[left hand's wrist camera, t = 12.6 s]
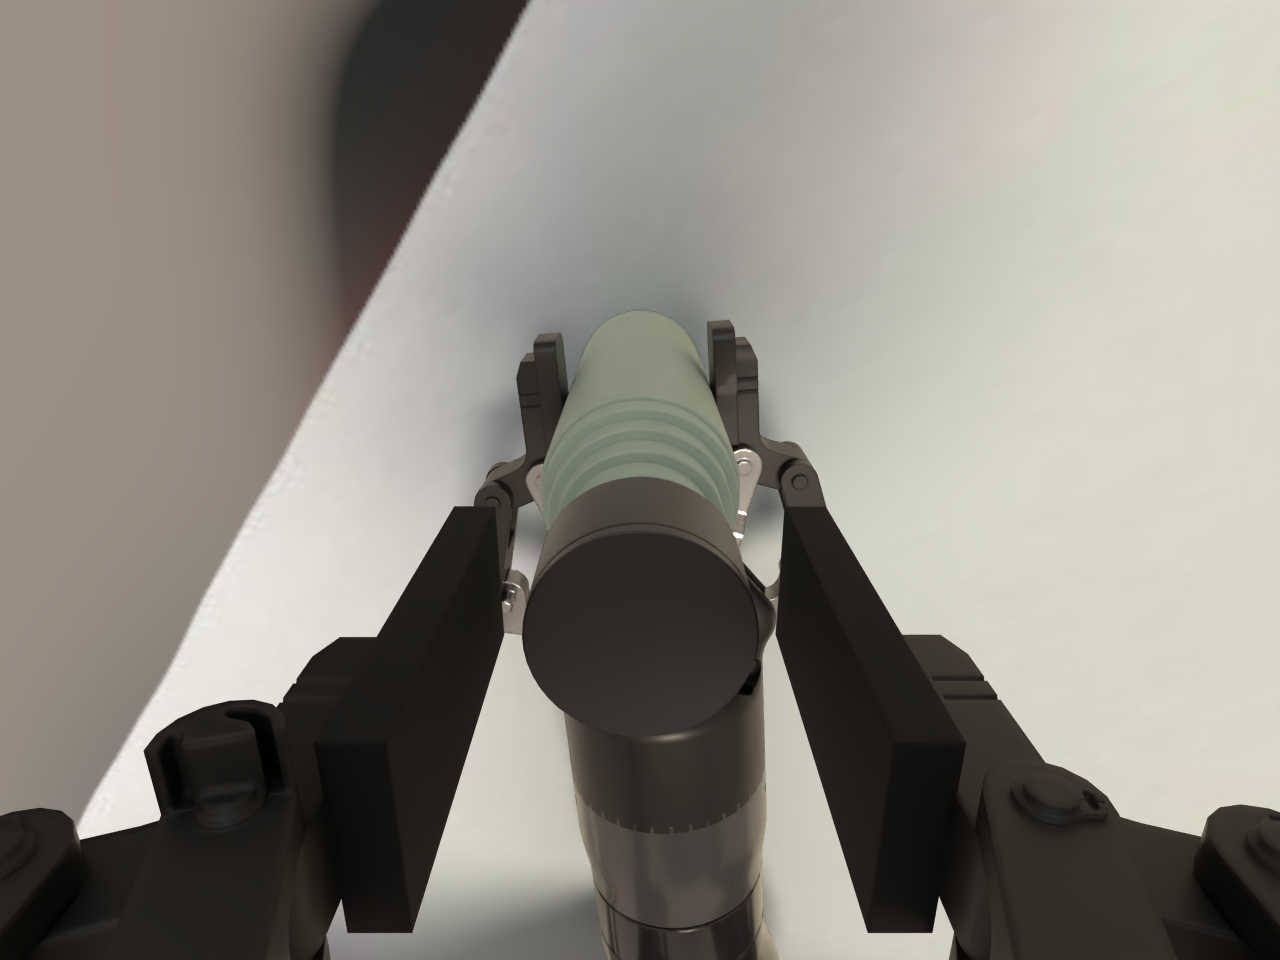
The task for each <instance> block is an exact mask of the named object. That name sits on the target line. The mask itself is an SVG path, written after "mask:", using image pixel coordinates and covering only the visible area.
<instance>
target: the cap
mask: <svg viewBox="0 0 1280 960" xmlns="http://www.w3.org/2000/svg"><path fill="white" fill-rule="evenodd" d="M522 640H523V649H524V653H525V657H526V661H527V664H528V666H529V669H530V671H531V673H532V675H533V677H534V679H535V680H536V682H537V684H538V685H539V687H540V688H541V690H542V691H543V692H544V693H545V695H546V696H547V697H548V698H549V699H550V700H551V701H552V702H553V703H554V704H555V705H556V706H557V707H558V708H560V709H561V710H562V711H564V712H565V713H566V714H568V715H569V716H571V717H572V718H574V719H576V720H578V721H579V722H581V723H583V724H585V725H588V726H590V727H593V728H595V729H598V730H601V731H605V732H608V733H613V734H618V735H624V736H656V735H663V734H669V733H672V732H676V731H680V730H683V729H686V728H688V727H691V726H694V725H696V724H698V723H700V722H702V721H704V720H705V719H707V718H709V717H710V716H712V715H713V714H715V713H716V712H718V711H719V710H720V709H721V708H723V707H724V706H725V705H726V704H727V703H728V702H729V701H730V700H731V699H732V698H733V697H734V696H735V695H736V694H737V692H738V691H739V690H740V688H741V687H742V685H743V684H744V682H745V681H746V679H747V677H748V675H749V673H750V671H751V669H752V667H753V664H754V661H755V658H756V654H757V649H758V643H759V624H758V617H757V612H756V608H755V605H754V601H753V598H752V594H751V590H750V587H749V583H748V580H747V576H746V573H745V569H744V565H743V562H742V558H741V555H740V551H739V548H738V544H737V541H736V538H735V535H734V533H733V531H732V529H731V527H730V525H729V524H728V522H727V521H726V519H725V518H724V516H723V515H722V514H721V513H720V512H719V510H718V509H717V508H716V507H715V506H714V505H713V504H712V503H711V502H709V501H708V500H707V499H706V498H705V497H703V496H702V495H700V494H699V493H697V492H695V491H694V490H692V489H690V488H688V487H686V486H684V485H681V484H678V483H675V482H672V481H669V480H664V479H660V478H652V477H628V478H622V479H616V480H612V481H609V482H606V483H602V484H600V485H598V486H596V487H593V488H591V489H589V490H587V491H586V492H584V493H583V494H581V495H579V496H578V497H577V498H575V499H574V500H573V501H572V502H570V503H569V504H568V505H567V506H566V507H565V508H564V509H563V510H562V511H561V513H560V514H559V515H558V516H557V518H556V519H555V521H554V522H553V524H552V525H551V527H550V529H549V531H548V533H547V535H546V538H545V541H544V544H543V547H542V551H541V554H540V558H539V562H538V565H537V569H536V572H535V576H534V580H533V583H532V587H531V590H530V594H529V598H528V602H527V605H526V608H525V613H524V618H523V625H522Z"/></svg>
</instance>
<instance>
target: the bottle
mask: <svg viewBox="0 0 1280 960" xmlns="http://www.w3.org/2000/svg"><path fill="white" fill-rule="evenodd" d="M628 477H652V478H660V479H664V480H669V481H672V482H675V483H678V484H681V485H684V486H686V487H688V488H690V489H692V490H694V491H695V492H697V493H699V494H700V495H702V496H703V497H705V498H706V499H707V500H708V501H709V502H711V503H712V504H713V505H714V506H715V507H716V508H717V509H718V510H719V512H720V513H721V514H722V515H723V516H724V518H725V519H726V521H727V522H728V524H729V525H730V527H731V529H732V531H734V529H735V525H736V522H737V519H738V512H739V499H740V475H739V468H738V465H737V461H736V458H735V455H734V452H733V449H732V447H731V444H730V441H729V438H728V436H727V433H726V430H725V427H724V425H723V422H722V419H721V416H720V414H719V411H718V408H717V405H716V403H715V400H714V397H713V394H712V392H711V389H710V386H709V383H708V380H707V378H706V375H705V372H704V369H703V367H702V364H701V361H700V358H699V356H698V353H697V350H696V348H695V345H694V343H693V341H692V340H691V338H690V336H689V335H688V334H687V332H686V331H685V330H684V329H683V328H682V327H681V326H680V325H679V324H678V323H676V322H675V321H673V320H672V319H670V318H668V317H667V316H665V315H662V314H659V313H656V312H651V311H642V310H640V311H630V312H625V313H622V314H619V315H617V316H614V317H612V318H610V319H609V320H607V321H606V322H604V323H603V324H602V325H601V326H600V327H599V328H598V329H597V330H596V331H595V332H594V333H593V335H592V336H591V338H590V339H589V341H588V343H587V345H586V347H585V350H584V353H583V355H582V358H581V361H580V364H579V367H578V369H577V372H576V375H575V378H574V380H573V383H572V386H571V389H570V392H569V394H568V397H567V400H566V403H565V405H564V408H563V411H562V414H561V416H560V419H559V422H558V425H557V428H556V430H555V433H554V436H553V439H552V441H551V444H550V447H549V450H548V452H547V455H546V458H545V461H544V464H543V469H542V474H541V488H540V490H541V503H542V514H543V518H544V522H545V526H546V529H547V531H549V529H550V527H551V525H552V524H553V522H554V521H555V519H556V518H557V516H558V515H559V514H560V513H561V511H562V510H563V509H564V508H565V507H566V506H567V505H568V504H569V503H570V502H572V501H573V500H574V499H575V498H577V497H578V496H579V495H581V494H583V493H584V492H586V491H587V490H589V489H591V488H593V487H596V486H598V485H600V484H602V483H606V482H609V481H612V480H616V479H622V478H628Z"/></svg>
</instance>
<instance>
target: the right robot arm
mask: <svg viewBox="0 0 1280 960" xmlns="http://www.w3.org/2000/svg"><path fill="white" fill-rule="evenodd" d="M707 336H708V357H709V378H710V389H711V392H712V394H713V397H714V400H715V403H716V405H717V408H718V411H719V414H720V416H721V419H722V422H723V425H724V427H725V430H726V433H727V436H728V438H729V441H730V444H731V447H732V449H733V452H734V455H735V458H736V461H737V465H738V468H739V475H740V499H739V512H738V519H737V522H736V525H735V529H734V531H733V533H734V535H735V538H736V541H737V544H738V548H739V546H740V543H741V541H742V538H743V534H744V529H745V519H746V514H747V511H748V509H749V506H750V503H751V500H752V497H753V494H754V491H755V488H756V485H757V484H759V485H763V486H767V487H770V488H774V489H778V492H779V496H780V499H781V502H782V506H783V509H785V506H826V504H825V501H824V497H823V493H822V490H821V486H820V482H819V479H818V475H817V473H816V471H815V470H814V468H813V466H812V465H811V463H810V462H809V460H808V458H807V457H806V455H805V454H804V452H803V451H802V449H801V448H800V447H799V445H797V444H796V443H793V442H788V441H787V442H782V443H780V442H776V441H772V440H769V439H766V438H764V437H763V436H761V435H760V434H759V401H758V362H757V358H756V356H755V354H754V351H753V349H752V347H751V345H750V343H749V342H748V340H747V339H746V338H745V337H736V338H735V331H734V326H733V325H732V323H731V322H730V321H729V320H719V321H708V322H707ZM516 379H517V387H518V394H519V401H520V407H521V416H522V423H523V430H524V437H525V444H526V454H525V455H524V456H522V457H520V458H518V459H516V460H514V461H511V462H509V463H508V462H500V463H497V464H495V465H494V466H492V468H491V469H490V470H489V472H488V474H487V476H486V481H485V483H484V484H483V485H482V486H481V487H480V489H479V491H478V492H477V494H476V496H475V500H474V506H495V509H496V523H497V537H498V552H499V566H500V580H501V594H502V608H503V623H504V633H511V634H518V635H522V625H523V618H524V613H525V608H526V605H527V602H528V598H529V594H530V591H529V582H528V579H527V578H526V577H525V575H523V574H522V573H521V572H520V571H518V570H511V565H512V557H513V549H514V540H515V532H516V524H517V516H518V508H519V507H521V506H523V505H526V504H528V503H530V502H533V501H535V502H536V504H537V506H538V508H539V510H540V512H541V514H542V503H541V490H540V488H541V474H542V469H543V464H544V461H545V458H546V455H547V452H548V450H549V447H550V444H551V441H552V439H553V436H554V433H555V430H556V428H557V425H558V422H559V419H560V416H561V414H562V411H563V408H564V405H565V403H566V400H567V397H568V394H569V390H568V382H567V373H566V364H565V356H564V347H563V340H562V335H561V333H549V334H539V335H538V337H537V338H536V340H535V341H534V353H527V354H526V355H525V357H524V358H523V359H522V361H521V362H520V366H519V370H518V374H517V378H516ZM542 515H543V514H542ZM743 565H744V569H745V573H746V576H747V580H748V583H749V587H750V590H751V594H752V598H753V601H754V605H755V608H756V612H757V617H758V624H759V643H758V649H757V654H756V658H755V661H754V664H753V667H752V669H751V671H750V673H749V675H748V677H747V679H746V681H745V682H744V684H743V685H742V687H741V688H740V690H739V691H738V692H737V694H736V695H735V696H734V697H733V698H732V699H731V700H730V701H729V702H728V703H727V704H726V705H725V706H724V707H723V708H721V709H720V710H719V711H718V712H716V713H715V714H713V715H712V716H710V717H709V718H707V719H705V720H704V721H702V722H700V723H698V724H696V725H694V726H691V727H688V728H686V729H683V730H680V731H676V732H672V733H669V734H663V735H656V736H624V735H618V734H613V733H608V732H605V731H601V730H598V729H595V728H593V727H590V726H588V725H585V724H583V723H581V722H579V721H578V720H576V719H574V718H572V717H571V716H569V715H568V714H566V713H565V712H564V716H565V723H566V730H567V737H568V745H569V752H570V760H571V767H572V775H573V782H574V790H575V797H576V804H577V811H578V818H579V825H580V830H581V835H582V838H583V842H584V845H585V849H586V852H587V855H588V858H589V861H590V864H591V869H592V873H593V881H594V889H595V896H596V904H597V911H598V920H599V927H600V934H601V940H602V944H603V948H604V951H605V955H606V958H607V960H780V958H779V956H778V953H777V950H776V947H775V944H774V942H773V939H772V937H771V934H770V932H769V930H768V928H767V926H766V924H765V921H764V919H763V883H762V847H763V840H764V834H765V826H766V775H765V737H764V702H763V666H762V657H763V651H764V648H765V645H766V643H767V641H768V640H769V638H770V637H771V635H772V633H773V631H774V628H775V625H776V621H777V608H778V594H779V580H780V566H781V559H780V561H779V576H778V579H777V580H776V582H775V583H774V584H772V585H771V586H769V587H767V588H766V587H765V586H764V585H763V584H762V583H761V582H760V581H759V579H758V578H757V577H756V576H755V575H754V574H753V573H752V572H751V570H750V569H749V568H748V567H747V566H746V565H745V564H744V563H743Z"/></svg>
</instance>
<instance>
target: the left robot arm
mask: <svg viewBox="0 0 1280 960" xmlns="http://www.w3.org/2000/svg"><path fill="white" fill-rule="evenodd" d="M503 637H504V623H503V608H502V594H501V580H500V566H499V552H498V537H497V523H496V509H495V506H454V508H453V510H452V511H451V513H450V515H449V516H448V518H447V520H446V521H445V523H444V525H443V526H442V528H441V530H440V532H439V533H438V535H437V537H436V538H435V540H434V542H433V543H432V545H431V547H430V548H429V550H428V552H427V553H426V555H425V557H424V558H423V560H422V562H421V563H420V565H419V567H418V568H417V570H416V572H415V574H414V575H413V577H412V579H411V580H410V582H409V584H408V585H407V587H406V589H405V590H404V592H403V594H402V595H401V597H400V599H399V600H398V602H397V604H396V605H395V607H394V609H393V610H392V612H391V614H390V615H389V617H388V619H387V621H386V622H385V624H384V626H383V627H382V629H381V631H380V632H379V634H378V636H377V637H340V638H338V639H337V640H335V641H334V642H332V643H331V644H330V645H328V646H327V647H325V648H324V649H323V650H321V651H320V652H318V653H317V654H315V655H314V656H313V657H312V658H311V659H310V661H309V662H308V664H307V665H306V666H305V668H304V669H303V671H302V672H301V674H300V675H299V676H298V678H297V682H296V684H293V685H292V686H291V688H290V689H289V690H288V692H287V693H286V695H285V696H284V697H283V703H279V705H278V706H277V707H275V706H274V705H273V704H269V703H265V702H261V701H257V700H237V701H227V702H223V703H219V704H215V705H211V706H207V707H203V708H201V709H198V710H196V711H194V712H192V713H190V714H187V715H185V716H183V717H181V718H178V719H177V720H175V721H174V722H173V723H171V724H170V725H168V726H167V727H166V728H164V729H163V730H161V731H160V732H159V733H157V734H156V735H155V737H154V738H153V739H152V740H151V742H150V743H149V744H148V746H147V747H146V748H145V749H144V754H145V758H146V762H147V765H148V769H149V772H150V776H151V780H152V783H153V787H154V791H155V794H156V798H157V802H158V805H159V809H160V813H161V817H160V820H159V821H156V822H152V823H149V824H146V825H142V826H139V827H134V828H130V829H126V830H121V831H117V832H112V833H108V834H104V835H99V836H95V837H91V838H86V839H82V840H79V837H78V834H77V831H76V828H75V824H74V821H73V820H72V819H71V818H69V817H68V816H67V815H66V814H65V813H63V812H62V811H59V810H52V809H45V808H36V809H29V810H22V811H16V812H11V813H8V814H5V815H2V816H0V960H330V953H329V946H328V941H327V936H326V934H327V932H328V929H329V927H330V924H331V922H332V920H333V917H334V915H335V913H336V910H337V908H338V906H339V903H340V901H341V899H342V904H343V910H344V915H345V921H346V926H347V932H348V933H412V932H413V928H414V925H415V922H416V919H417V915H418V912H419V909H420V906H421V902H422V899H423V896H424V893H425V889H426V886H427V883H428V880H429V877H430V873H431V870H432V867H433V864H434V860H435V857H436V854H437V851H438V847H439V844H440V841H441V838H442V834H443V831H444V828H445V825H446V821H447V818H448V815H449V812H450V809H451V805H452V802H453V799H454V796H455V792H456V789H457V786H458V783H459V779H460V776H461V773H462V770H463V766H464V763H465V760H466V757H467V753H468V750H469V747H470V744H471V741H472V737H473V734H474V731H475V728H476V724H477V721H478V718H479V715H480V711H481V708H482V705H483V702H484V698H485V695H486V692H487V689H488V685H489V682H490V679H491V676H492V673H493V669H494V666H495V663H496V660H497V656H498V653H499V650H500V647H501V643H502V640H503ZM776 637H777V640H778V643H779V647H780V650H781V653H782V656H783V660H784V663H785V666H786V669H787V673H788V676H789V679H790V682H791V686H792V689H793V692H794V695H795V698H796V702H797V705H798V708H799V711H800V715H801V718H802V721H803V724H804V728H805V731H806V734H807V737H808V741H809V744H810V747H811V750H812V754H813V757H814V760H815V763H816V766H817V770H818V773H819V776H820V779H821V783H822V786H823V789H824V792H825V796H826V799H827V802H828V805H829V809H830V812H831V815H832V818H833V822H834V825H835V828H836V831H837V834H838V838H839V841H840V844H841V847H842V851H843V854H844V857H845V860H846V864H847V867H848V870H849V873H850V877H851V880H852V883H853V886H854V890H855V893H856V896H857V899H858V902H859V906H860V909H861V912H862V915H863V919H864V922H865V925H866V928H867V932H868V933H932V932H933V926H934V921H935V915H936V909H937V904H938V898H939V897H940V899H941V902H942V904H943V906H944V909H945V911H946V914H947V916H948V918H949V921H950V923H951V925H952V928H953V930H954V936H953V941H952V946H951V951H950V957H949V960H1280V812H1277V811H1274V810H1271V809H1268V808H1261V807H1254V806H1248V805H1234V806H1227V807H1220V808H1218V809H1217V810H1216V811H1215V812H1214V813H1212V814H1211V815H1210V816H1209V817H1208V818H1207V821H1206V824H1205V828H1204V831H1203V834H1202V837H1200V836H1195V835H1191V834H1186V833H1182V832H1178V831H1173V830H1169V829H1165V828H1160V827H1156V826H1151V825H1147V824H1143V823H1139V822H1135V821H1132V820H1129V819H1125V818H1122V817H1120V816H1119V814H1118V812H1117V811H1116V809H1115V808H1114V806H1113V805H1112V803H1111V802H1110V800H1109V799H1108V797H1107V796H1106V795H1105V794H1103V793H1102V792H1101V791H1100V790H1099V789H1097V788H1096V787H1095V786H1094V785H1092V784H1091V783H1090V782H1089V781H1088V780H1086V779H1084V778H1082V777H1080V776H1078V775H1076V774H1074V773H1072V772H1070V771H1068V770H1066V769H1064V768H1062V767H1058V766H1055V765H1051V764H1048V763H1045V761H1044V760H1043V759H1042V757H1041V756H1040V754H1039V753H1038V752H1037V750H1036V749H1035V747H1034V746H1033V745H1032V743H1031V742H1030V740H1029V739H1028V738H1027V736H1026V735H1025V733H1024V732H1023V731H1022V729H1021V728H1020V726H1019V725H1018V724H1017V722H1016V721H1015V719H1014V718H1013V717H1012V715H1011V714H1010V712H1009V711H1008V710H1007V708H1006V707H1005V705H1004V704H1003V703H1002V701H1001V700H998V699H997V694H996V693H995V691H994V690H993V689H992V687H991V686H990V684H989V683H988V682H987V681H984V676H983V675H982V673H981V672H980V670H979V669H978V668H977V666H976V665H975V663H974V662H973V661H972V659H971V658H970V656H969V655H968V654H967V653H966V652H964V651H963V650H961V649H960V648H958V647H957V646H956V645H954V644H953V643H951V642H950V641H948V640H947V639H946V638H944V637H943V636H941V635H902V634H901V632H900V631H899V629H898V627H897V626H896V624H895V622H894V621H893V619H892V617H891V615H890V614H889V612H888V610H887V609H886V607H885V605H884V604H883V602H882V600H881V599H880V597H879V595H878V594H877V592H876V590H875V589H874V587H873V585H872V584H871V582H870V580H869V579H868V577H867V575H866V574H865V572H864V570H863V568H862V567H861V565H860V563H859V562H858V560H857V558H856V557H855V555H854V553H853V552H852V550H851V548H850V547H849V545H848V543H847V542H846V540H845V538H844V537H843V535H842V533H841V532H840V530H839V528H838V527H837V525H836V523H835V521H834V520H833V518H832V516H831V515H830V513H829V511H828V510H827V508H826V506H785V509H784V523H783V537H782V551H781V566H780V580H779V594H778V608H777V622H776Z"/></svg>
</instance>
